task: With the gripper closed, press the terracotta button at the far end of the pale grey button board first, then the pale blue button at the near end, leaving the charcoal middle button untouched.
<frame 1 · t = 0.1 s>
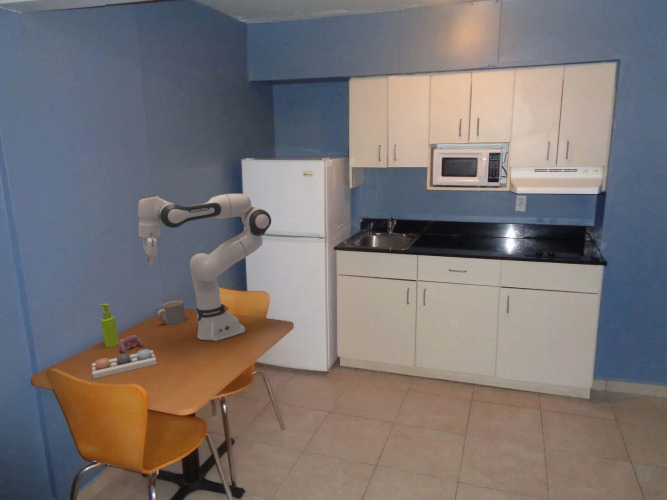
hand: (150, 263, 214), 39 cm above the table, tool pointing down, fingers open, 8 cm apart
pale blue button: (144, 354, 205), point 3 cm above the table, slide at 0.0 cm
terracotta button: (102, 363, 198), point 3 cm above the table, slide at 0.0 cm
video game controller: (131, 349, 220), on the table
coffee mug: (172, 322, 253), on the table
button board: (124, 365, 202), on the table
soap dispenser: (111, 345, 227), on the table
charcoal button: (123, 359, 201), point 3 cm above the table, slide at 0.0 cm
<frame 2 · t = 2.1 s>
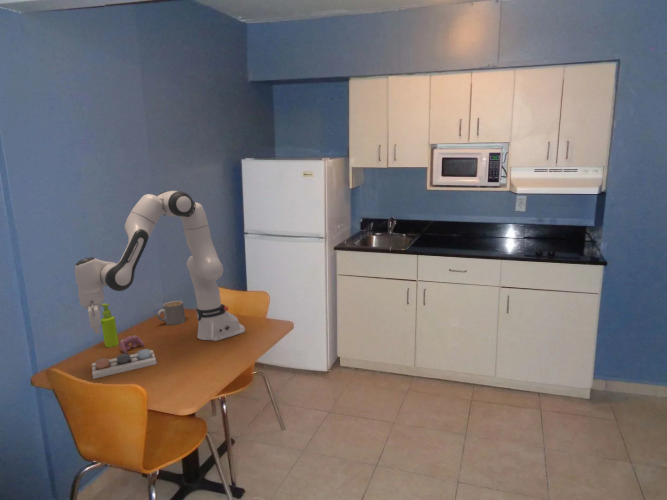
hand: (97, 331, 195), 17 cm above the table, tool pointing down, fingers open, 5 cm apart
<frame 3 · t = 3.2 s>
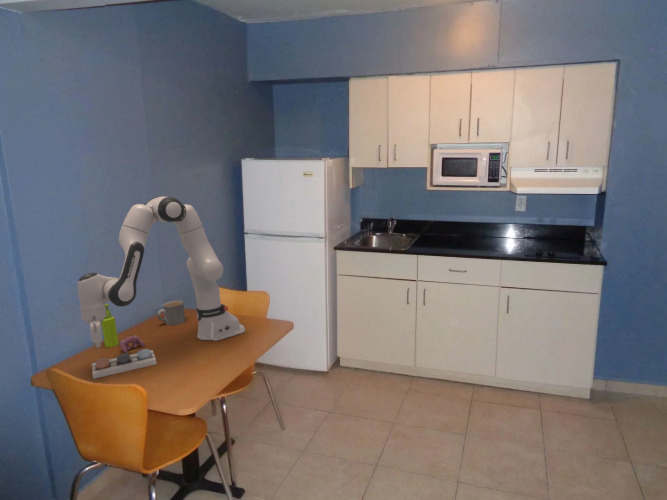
hand: (98, 346, 196), 11 cm above the table, tool pointing down, fingers closed
nothing on the table moved.
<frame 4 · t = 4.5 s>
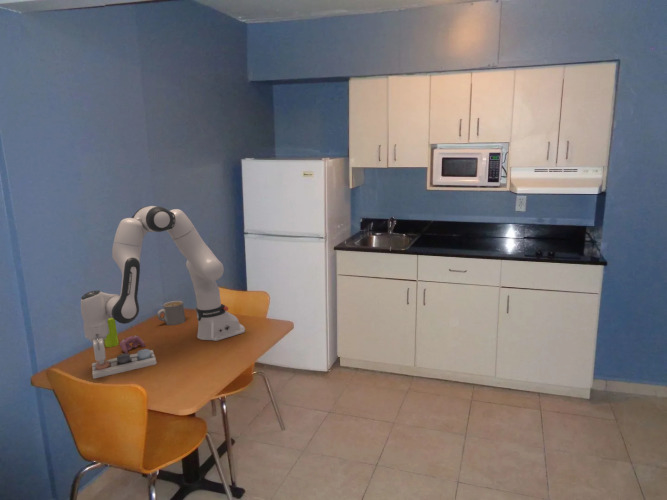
hand: (101, 363, 198), 3 cm above the table, tool pointing down, fingers closed, pressing on terracotta button
terracotta button: (103, 366, 198), point 2 cm above the table, slide at 1.1 cm, touching gripper
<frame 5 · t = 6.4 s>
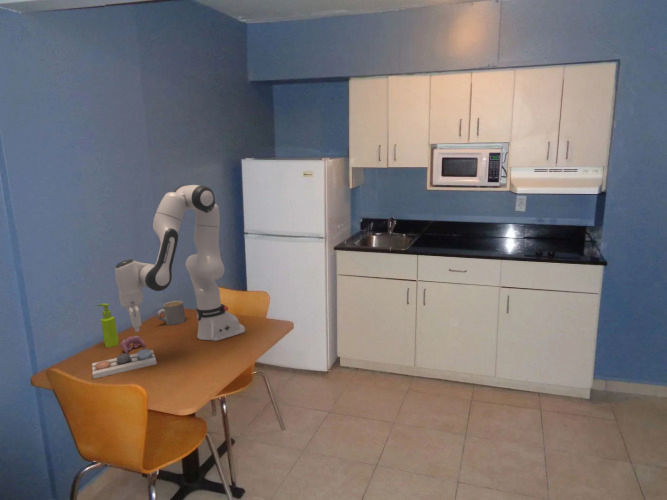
hand: (137, 330, 203), 14 cm above the table, tool pointing down, fingers closed
terracotta button: (103, 366, 198), point 2 cm above the table, slide at 1.2 cm
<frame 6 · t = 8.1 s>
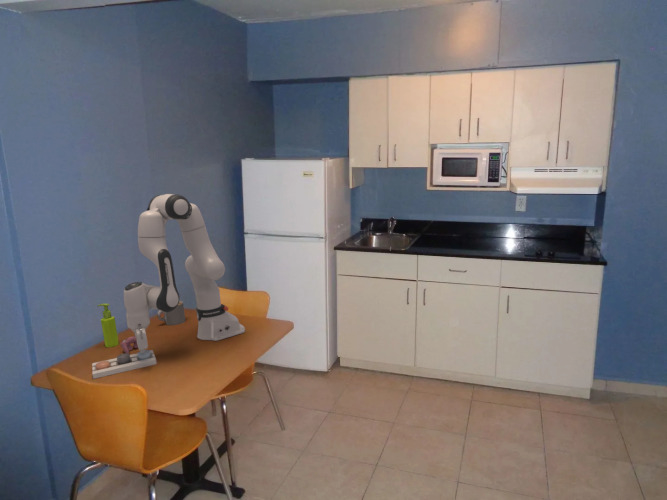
hand: (142, 352, 205), 4 cm above the table, tool pointing down, fingers closed, pressing on pale blue button
pale blue button: (144, 355, 205), point 3 cm above the table, slide at 0.4 cm, touching gripper
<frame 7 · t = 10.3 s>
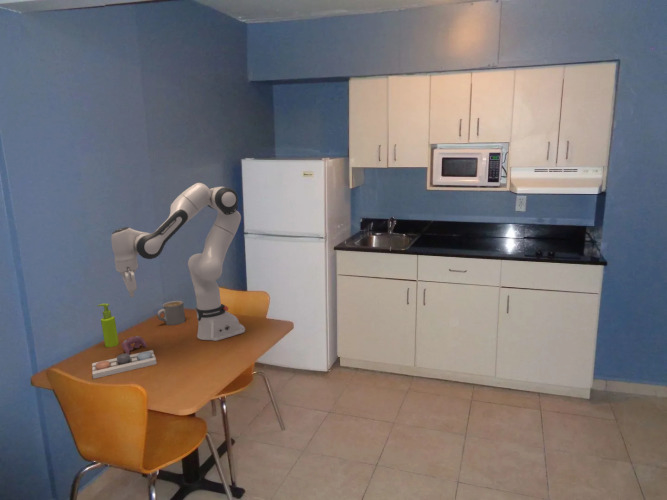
hand: (132, 296, 210), 26 cm above the table, tool pointing down, fingers closed
pale blue button: (144, 357, 205), point 2 cm above the table, slide at 1.3 cm
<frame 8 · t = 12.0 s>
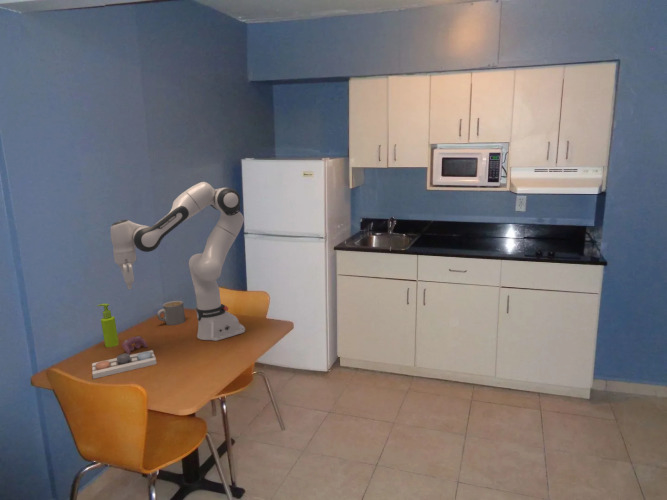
hand: (129, 288, 212), 29 cm above the table, tool pointing down, fingers closed
at the end: terracotta button slide at 1.2 cm; pale blue button slide at 1.3 cm; charcoal button slide at 0.0 cm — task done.
